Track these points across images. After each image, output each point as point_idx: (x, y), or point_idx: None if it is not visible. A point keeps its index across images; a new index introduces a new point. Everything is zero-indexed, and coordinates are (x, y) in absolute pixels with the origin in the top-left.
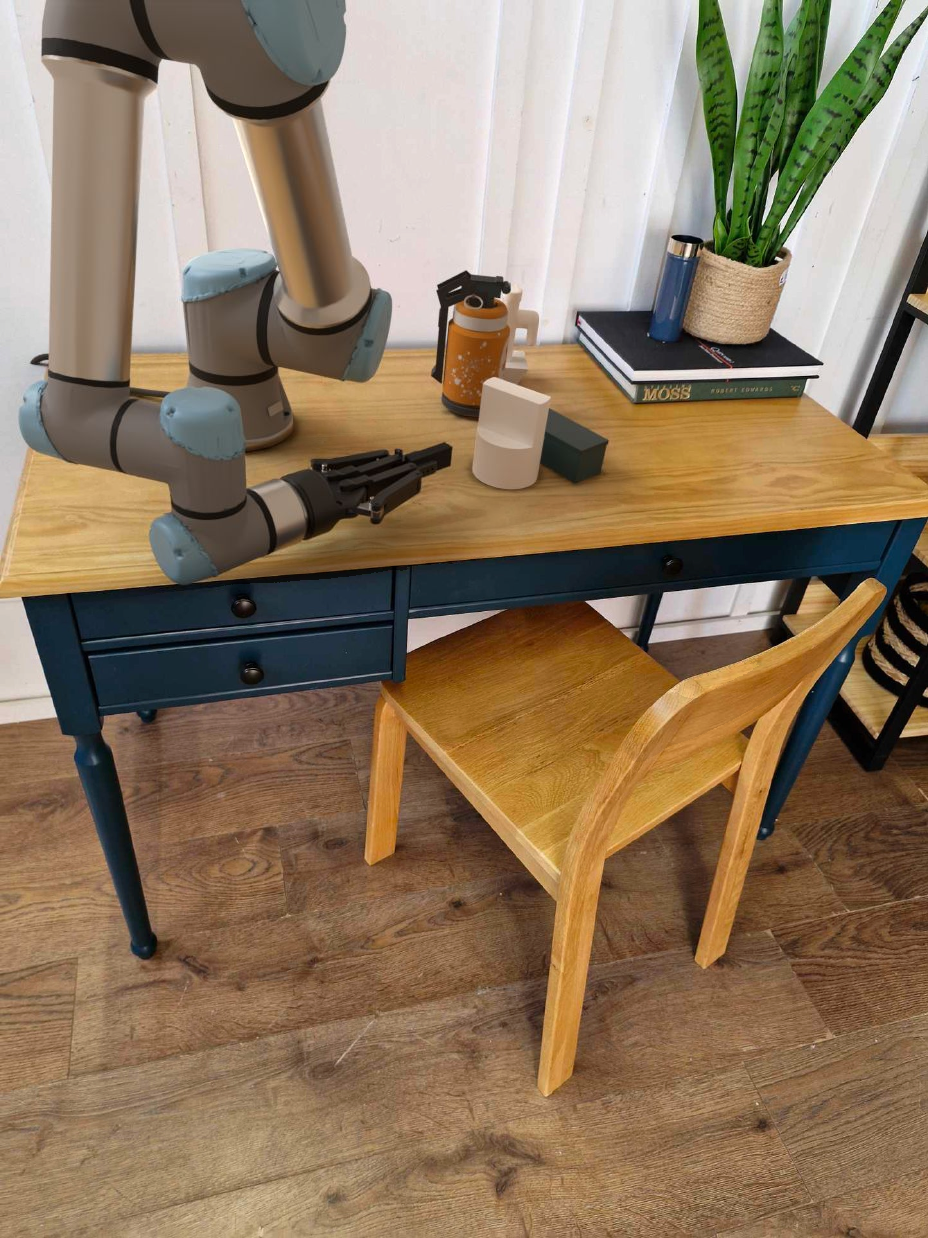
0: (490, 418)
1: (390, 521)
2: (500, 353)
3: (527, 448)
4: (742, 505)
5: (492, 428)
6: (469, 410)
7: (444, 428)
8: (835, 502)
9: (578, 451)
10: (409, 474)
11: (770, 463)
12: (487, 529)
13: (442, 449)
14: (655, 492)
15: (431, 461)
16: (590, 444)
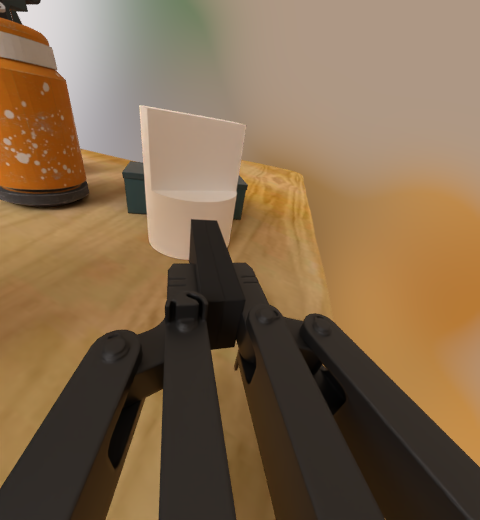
0: (171, 170)
1: (236, 479)
2: (70, 109)
3: (236, 193)
4: (296, 194)
5: (177, 185)
6: (63, 195)
7: (48, 227)
8: (300, 182)
9: (244, 187)
10: (333, 354)
11: (258, 175)
12: (306, 310)
13: (217, 233)
14: (270, 204)
15: (240, 269)
16: (239, 179)
